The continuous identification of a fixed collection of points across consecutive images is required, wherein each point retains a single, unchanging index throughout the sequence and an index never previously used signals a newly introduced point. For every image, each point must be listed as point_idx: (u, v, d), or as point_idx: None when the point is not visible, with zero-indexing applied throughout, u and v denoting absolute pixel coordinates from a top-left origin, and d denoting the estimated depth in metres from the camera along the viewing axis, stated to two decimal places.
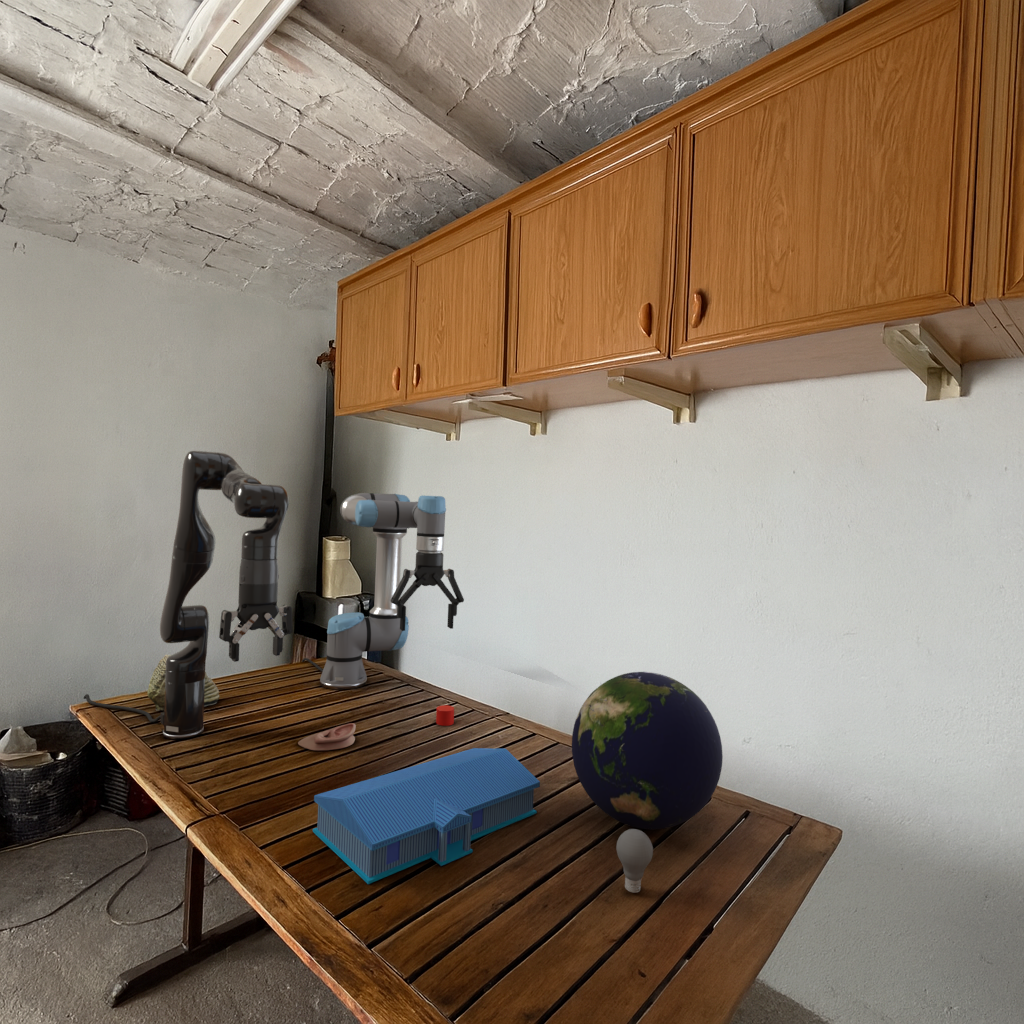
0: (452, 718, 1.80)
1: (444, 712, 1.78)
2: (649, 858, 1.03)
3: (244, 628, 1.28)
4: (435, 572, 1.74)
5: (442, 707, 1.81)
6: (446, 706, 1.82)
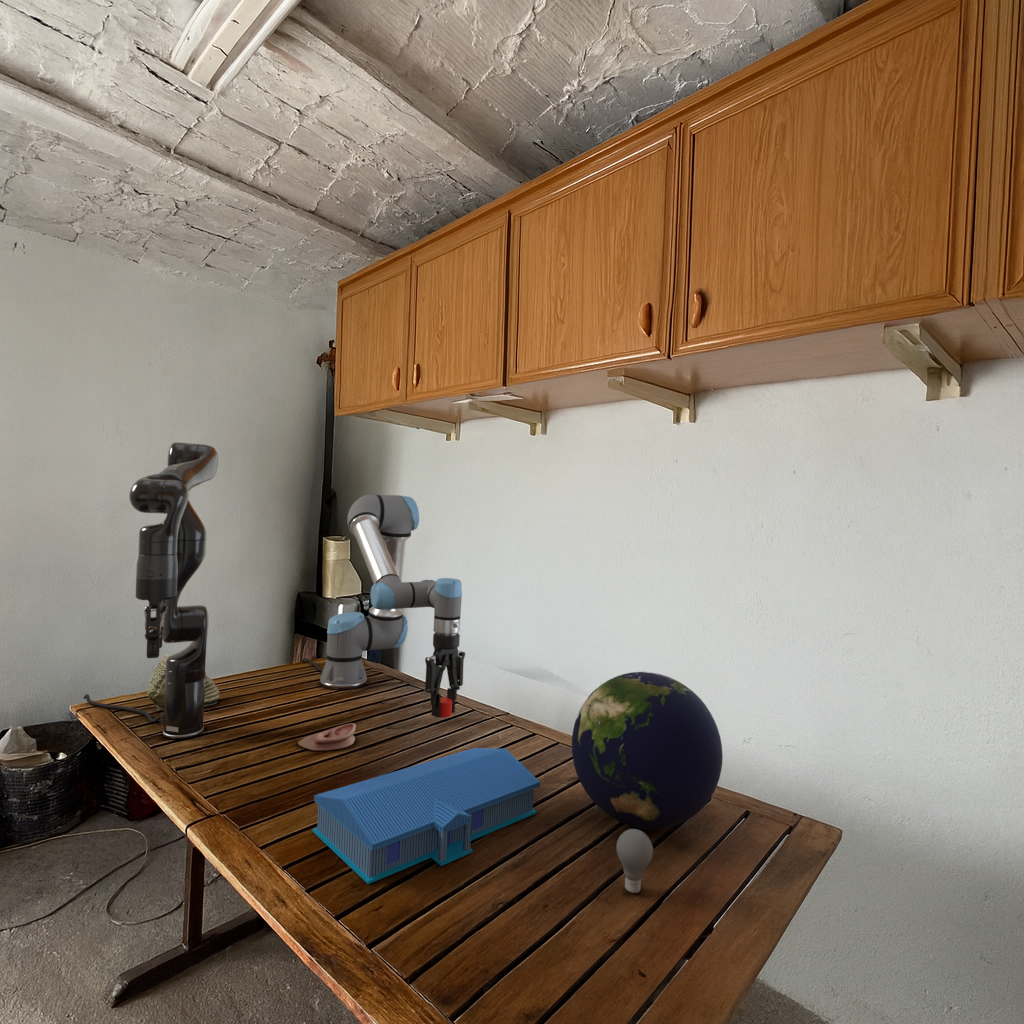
0: (450, 710, 1.80)
1: (442, 704, 1.79)
2: (649, 858, 1.03)
3: None
4: (453, 650, 1.81)
5: None
6: (444, 698, 1.82)
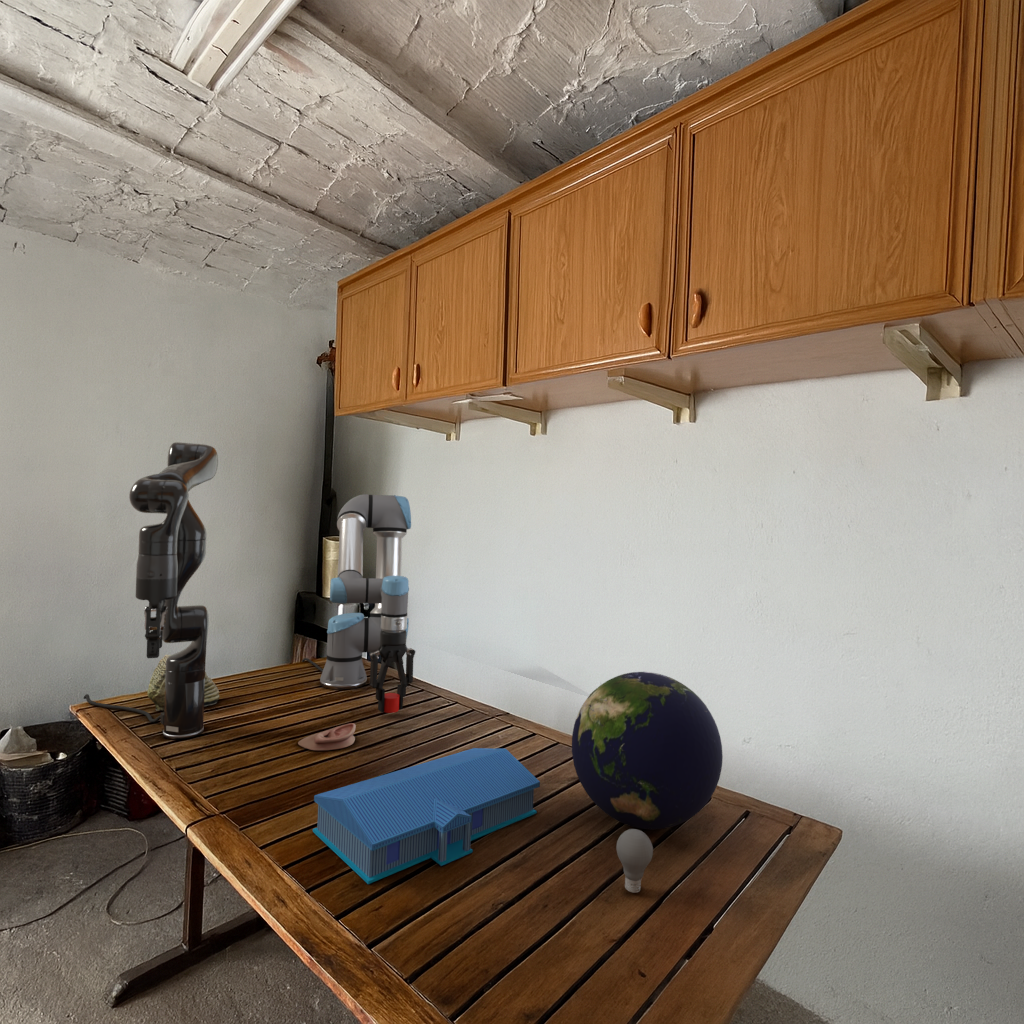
0: (395, 706, 1.83)
1: (386, 699, 1.82)
2: (649, 858, 1.03)
3: None
4: (400, 647, 1.83)
5: (388, 694, 1.85)
6: (393, 694, 1.85)
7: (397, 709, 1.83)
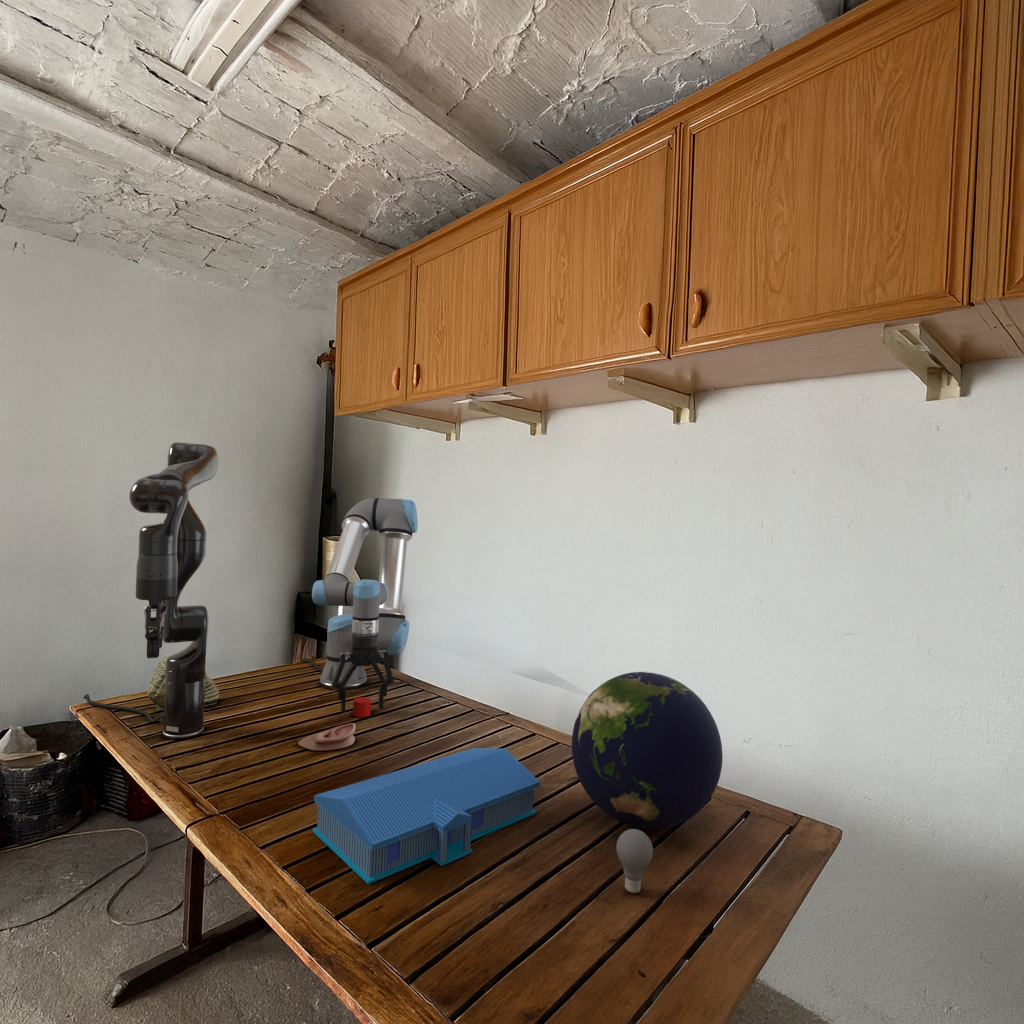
0: (365, 710, 1.83)
1: (356, 703, 1.83)
2: (649, 858, 1.03)
3: None
4: (370, 652, 1.84)
5: (360, 699, 1.86)
6: (365, 699, 1.86)
7: (367, 714, 1.84)
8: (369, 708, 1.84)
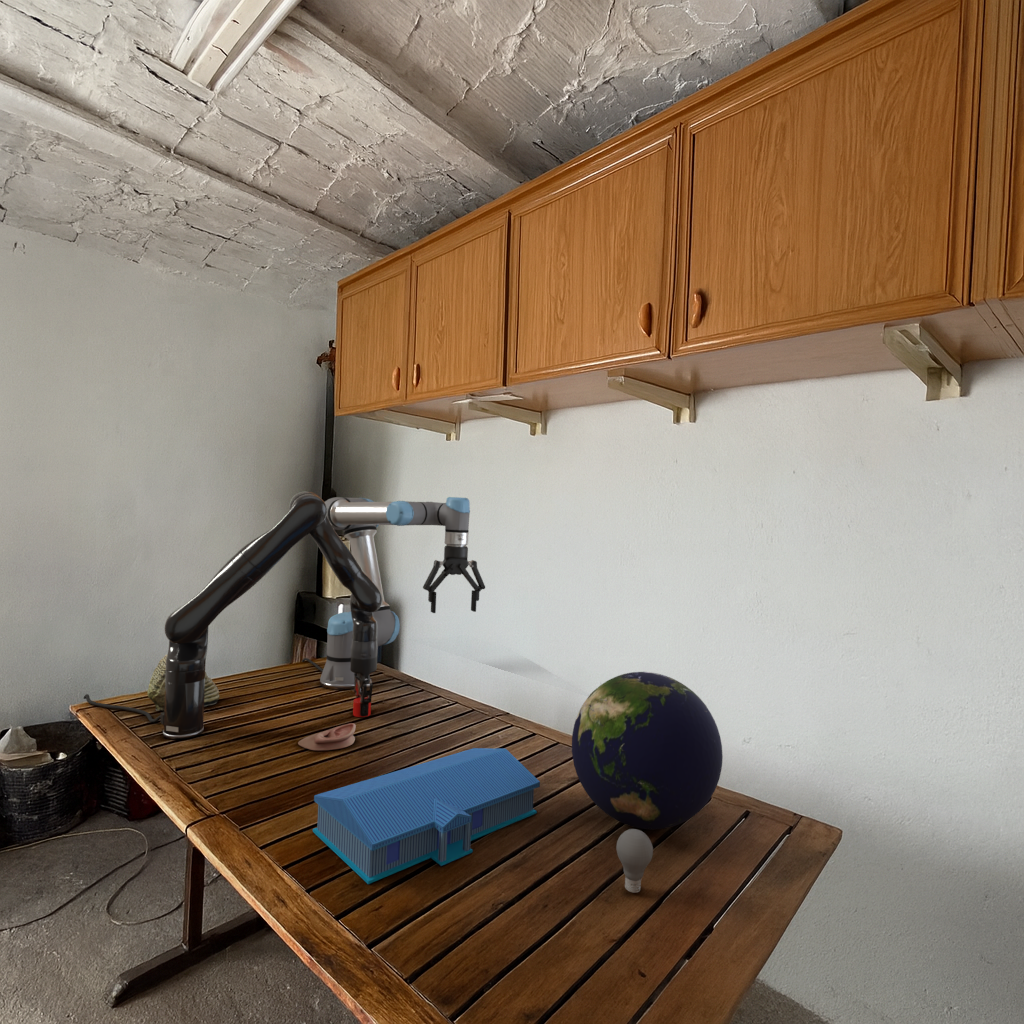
0: None
1: (356, 703, 1.83)
2: (649, 858, 1.03)
3: (355, 686, 1.86)
4: (461, 563, 2.02)
5: None
6: None
7: None
8: (369, 708, 1.84)
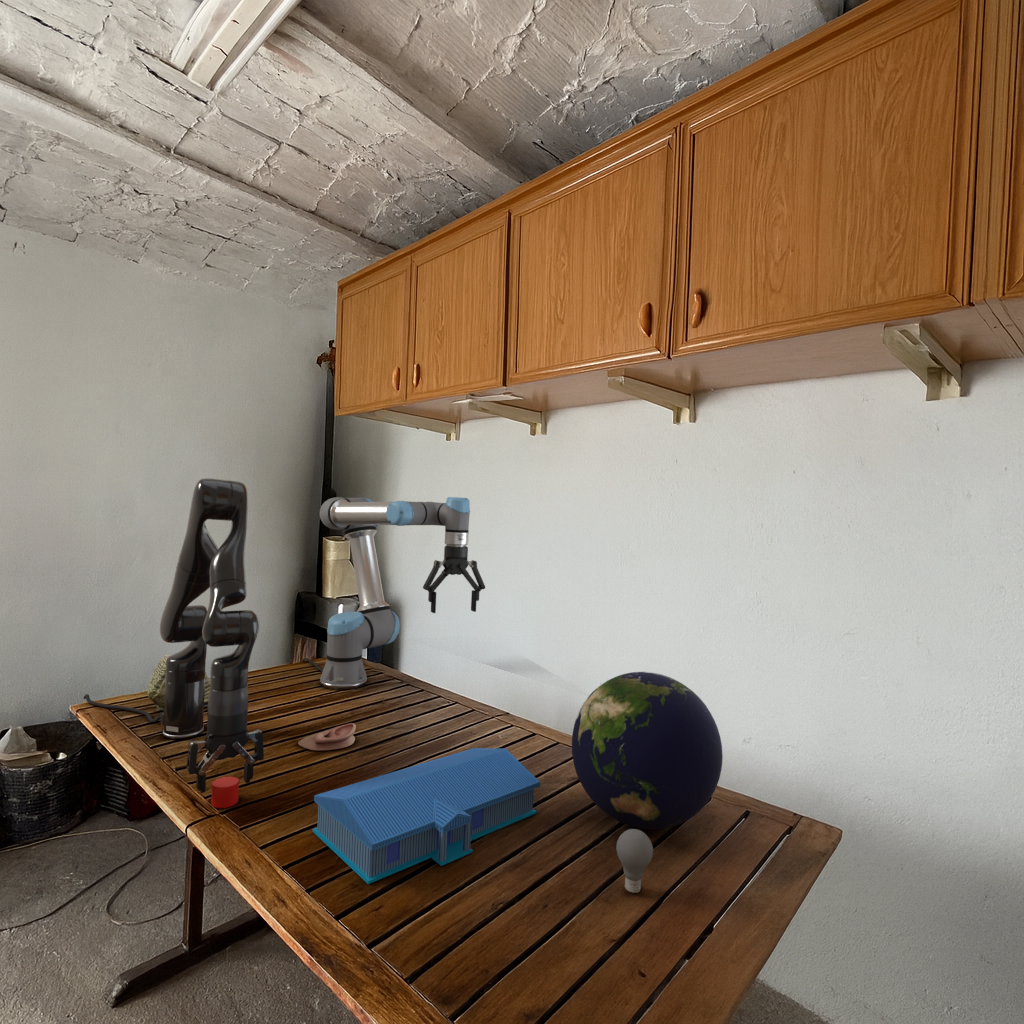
0: (213, 798, 1.28)
1: None
2: (649, 858, 1.03)
3: None
4: (461, 563, 2.02)
5: (230, 780, 1.31)
6: (229, 783, 1.29)
7: (215, 804, 1.27)
8: (218, 797, 1.27)
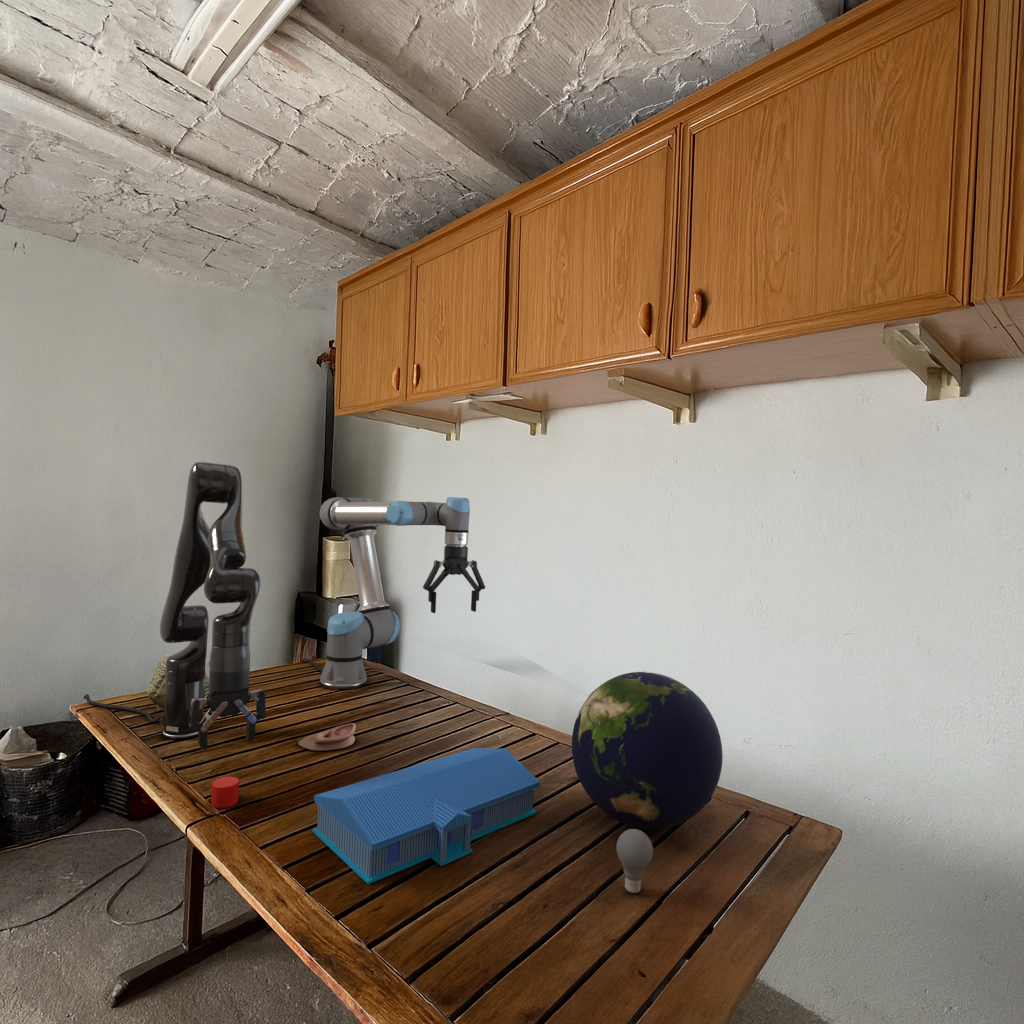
0: (213, 798, 1.28)
1: None
2: (649, 858, 1.03)
3: None
4: (461, 563, 2.02)
5: (230, 780, 1.31)
6: (229, 783, 1.29)
7: (215, 804, 1.27)
8: (218, 797, 1.27)
